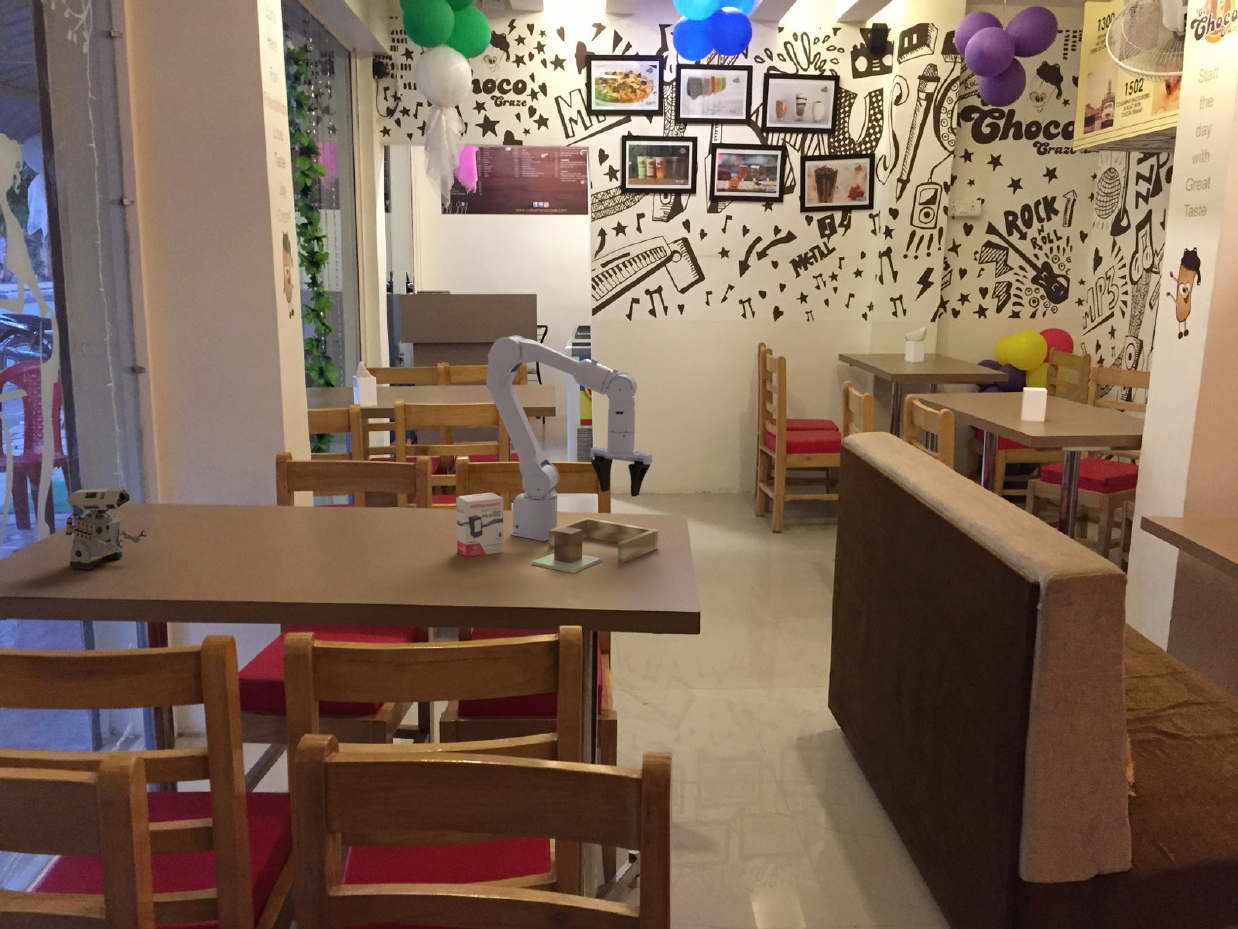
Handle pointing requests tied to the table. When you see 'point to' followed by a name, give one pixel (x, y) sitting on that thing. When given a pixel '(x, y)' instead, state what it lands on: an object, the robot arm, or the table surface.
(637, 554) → the corral
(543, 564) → the pad
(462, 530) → the ink box
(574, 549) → the walnut block
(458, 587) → the table surface
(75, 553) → the figurine
